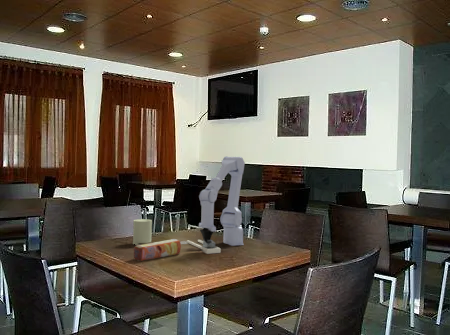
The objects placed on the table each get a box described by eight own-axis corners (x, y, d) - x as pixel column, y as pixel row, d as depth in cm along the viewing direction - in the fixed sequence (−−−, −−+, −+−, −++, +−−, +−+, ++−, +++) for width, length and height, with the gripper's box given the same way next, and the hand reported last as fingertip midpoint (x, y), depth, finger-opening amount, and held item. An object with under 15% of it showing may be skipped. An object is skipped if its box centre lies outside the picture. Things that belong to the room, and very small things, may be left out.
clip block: (210, 247, 199) (211, 237, 199) (214, 251, 195) (215, 241, 194) (202, 248, 198) (203, 238, 197) (206, 252, 193) (207, 242, 192)
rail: (198, 243, 215) (199, 239, 215) (220, 252, 194) (220, 248, 194) (186, 244, 212) (186, 240, 212) (207, 253, 190) (207, 249, 190)
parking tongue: (185, 243, 215) (185, 241, 215) (191, 245, 209) (191, 243, 209) (172, 243, 212) (172, 241, 212) (177, 246, 206) (177, 244, 206)
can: (147, 245, 206) (147, 220, 206) (129, 244, 208) (130, 220, 208) (154, 242, 215) (154, 218, 215) (137, 241, 217) (137, 217, 217)
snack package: (141, 262, 172) (141, 245, 172) (132, 259, 177) (132, 243, 177) (181, 255, 188) (181, 239, 188) (171, 252, 192) (172, 237, 192)
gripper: (193, 214, 203) (192, 242, 203) (206, 217, 190) (205, 248, 190) (206, 213, 206) (206, 241, 207) (220, 217, 194) (219, 247, 194)
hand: (206, 244), depth 199 cm, fingers closed, pressing on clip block
